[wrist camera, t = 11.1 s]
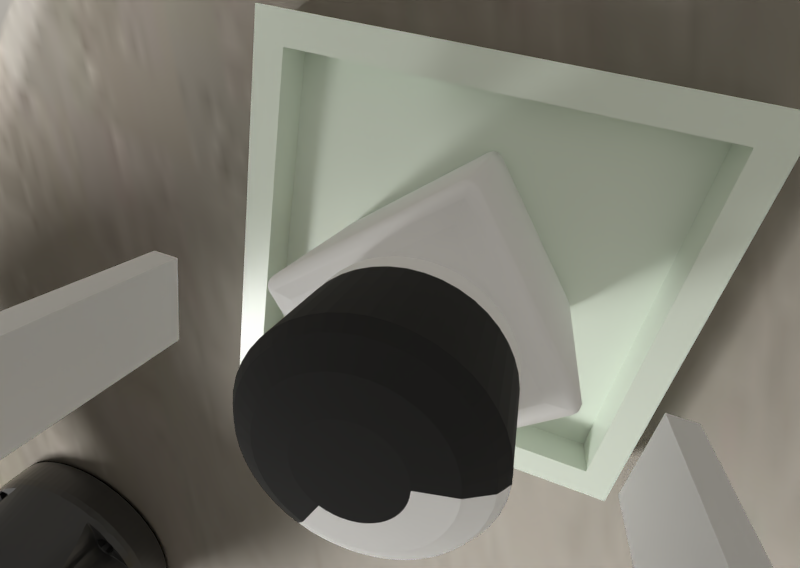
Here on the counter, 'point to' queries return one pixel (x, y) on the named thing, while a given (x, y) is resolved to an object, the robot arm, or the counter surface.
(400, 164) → the tray
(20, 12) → the counter surface
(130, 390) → the counter surface
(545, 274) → the medicine bottle
